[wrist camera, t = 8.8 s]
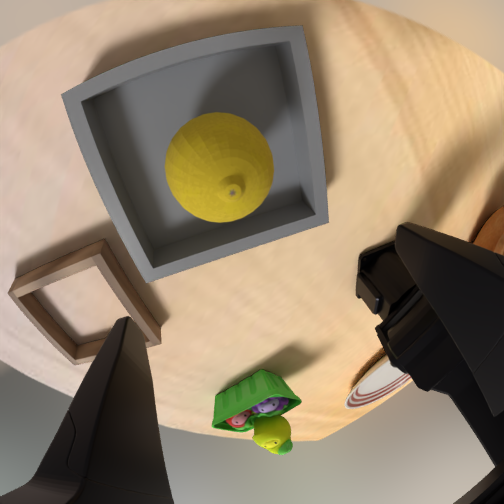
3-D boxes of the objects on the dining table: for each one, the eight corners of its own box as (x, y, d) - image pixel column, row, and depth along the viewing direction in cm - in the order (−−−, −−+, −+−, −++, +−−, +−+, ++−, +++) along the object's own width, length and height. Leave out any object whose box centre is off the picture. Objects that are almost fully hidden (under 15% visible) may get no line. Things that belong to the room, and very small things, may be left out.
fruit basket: (263, 360, 34) (292, 438, 25) (296, 376, 39) (323, 438, 30) (202, 396, 36) (218, 466, 27) (240, 407, 41) (258, 466, 32)
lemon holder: (104, 238, 19) (100, 253, 18) (160, 328, 26) (161, 343, 24) (14, 279, 18) (7, 293, 17) (76, 351, 25) (74, 365, 23)
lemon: (170, 104, 15) (167, 119, 9) (256, 111, 17) (311, 135, 10) (164, 185, 18) (161, 252, 11) (243, 188, 19) (282, 251, 13)
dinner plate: (454, 322, 52) (462, 331, 49) (382, 393, 62) (387, 402, 60) (411, 309, 39) (422, 323, 36) (313, 403, 50) (319, 416, 47)
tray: (283, 32, 14) (302, 25, 12) (311, 205, 23) (328, 222, 20) (77, 91, 13) (61, 94, 10) (147, 259, 21) (146, 283, 19)
